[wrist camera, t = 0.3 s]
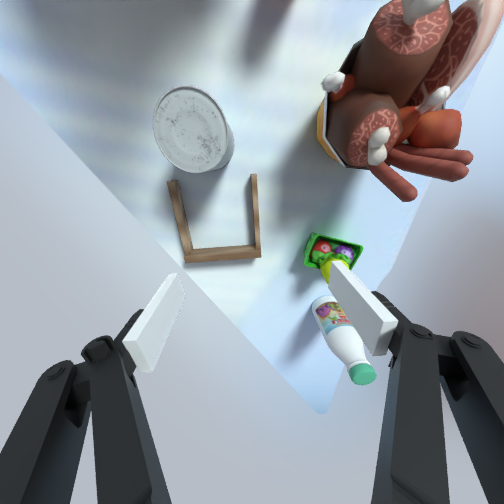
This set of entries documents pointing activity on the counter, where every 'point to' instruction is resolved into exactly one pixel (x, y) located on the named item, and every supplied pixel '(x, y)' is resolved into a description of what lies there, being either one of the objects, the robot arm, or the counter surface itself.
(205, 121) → the speckled concrete cylinder
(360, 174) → the counter surface
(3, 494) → the robot arm
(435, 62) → the bucket of meat
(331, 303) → the milk bottle
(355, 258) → the fruit basket
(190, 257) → the dock
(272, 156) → the counter surface
